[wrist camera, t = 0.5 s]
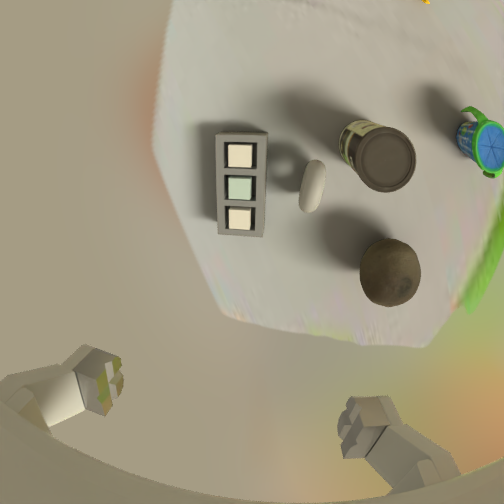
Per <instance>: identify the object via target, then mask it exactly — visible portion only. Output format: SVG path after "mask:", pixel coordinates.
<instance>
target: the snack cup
mask: <svg viewBox="0 0 504 504" xmlns="http://www.w3.org/2000/svg"><path fill="white" fill-rule="evenodd" d="M461 112H471V113H472V114H473V115H474V116H475V117H476V119H477V121H478V122H465V123H463V124H462V125H461V126H460V127H459V129H458V132H457V135H456V139H457V143H458V145H459V148H460V149H461V151H462V152H463V153H464V154H465V155H467V156H468V157H469V158H471V159H472V160H473V161H475V162H476V163H477V164H478V166H479V167H480V168H481V169H482V170H484V171H483V174H484V175H485V176H486V177H489V178H496V177H498V176H499V175H500V174H501V173H502V170H503V168H504V128H503V127H502V126H501V125H500V124H499V123H497V122H495V121H491V120H488V119H487V118H486V116H485V115H484V114H482V113H481V112H480V111H479V110H477V109H476V108H474V107H471V106H469V107H467V108H465V109H463V110H462V111H461Z"/></svg>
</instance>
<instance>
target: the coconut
mask: <svg viewBox="0 0 504 504" xmlns="http://www.w3.org/2000/svg"><path fill="white" fill-rule="evenodd" d="M420 277H421V269H420V264H419V261H418V258H417V255H416V253H415V251H414V250H413V249H412V248H411V247H410V246H409V245H407V244H406V243H403V242H401V241H399V240H396V239H390V238H388V239H383V240H380V241H378V242H376V243H374V244H373V245H371V246H370V247H369V248H368V249H367V251H366V252H365V254H364V256H363V258H362V260H361V264H360V282H361V285H362V288H363V290H364V292H365V294H366V296H367V297H368V298H369V299H370V300H371V301H372V302H373V303H376V304H378V305H382V306H385V307H392V306H397V305H400V304H403V303H405V302H407V301H408V300H410V299H411V298H412V297H413V295H414V294H415V293H416V291H417V289H418V286H419V283H420Z"/></svg>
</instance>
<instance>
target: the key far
mask: <svg viewBox="0 0 504 504" xmlns="http://www.w3.org/2000/svg"><path fill="white" fill-rule="evenodd" d="M250 226H251V207H242V206H230V208H229V229H244V230H250Z"/></svg>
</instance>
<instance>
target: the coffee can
mask: <svg viewBox="0 0 504 504" xmlns="http://www.w3.org/2000/svg"><path fill="white" fill-rule="evenodd" d="M339 150H340V153H341V156H342V158H343V159H344V160H345V162H346V163H347V164H348V165H350V166H351V168H352V169H353V170H354V171H355V172H356V173H357V174H358V175H359V177H360V178H361V180H362V181H363V182H364V183H365V184H366V185H367V186H368V187H369V188H371V189H373V190H375V191H378V192H384V193H386V192H393V191H396V190H399V189H400V188H402V187H403V186H405V185H406V184H407V183H408V182H409V180H410V179H411V177H412V176H413V174H414V171H415V167H416V153H415V149H414V146H413V144H412V143H411V141H410V140H409V138H408V137H407V136H406V135H405V134H404V133H402V132H401V131H399V130H397V129H394V128H390V127H386V126H382V125H379V124H376V123H373V122H370V121H367V120H358V121H355V122H352V123H350V124H349V125H348V126H346V127H345V128H344V130H343V131H342V133H341V135H340V139H339Z"/></svg>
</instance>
